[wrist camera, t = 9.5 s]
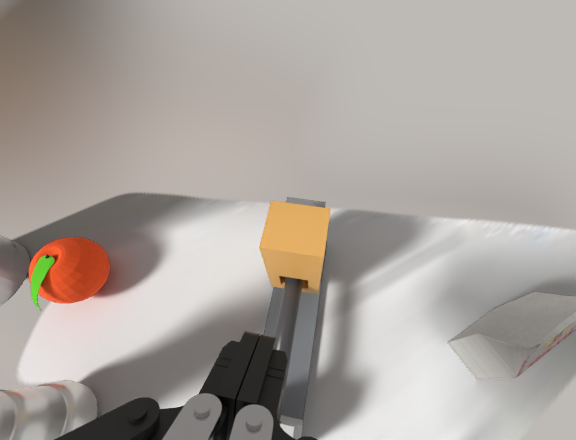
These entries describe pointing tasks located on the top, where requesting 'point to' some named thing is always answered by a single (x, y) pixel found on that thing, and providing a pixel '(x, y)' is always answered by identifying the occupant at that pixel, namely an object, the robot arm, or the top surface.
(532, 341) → the milk carton
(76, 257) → the clementine
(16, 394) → the plastic bottle
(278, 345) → the gray horizontal rod stand
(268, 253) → the sleeve
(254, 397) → the robot arm
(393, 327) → the top surface
